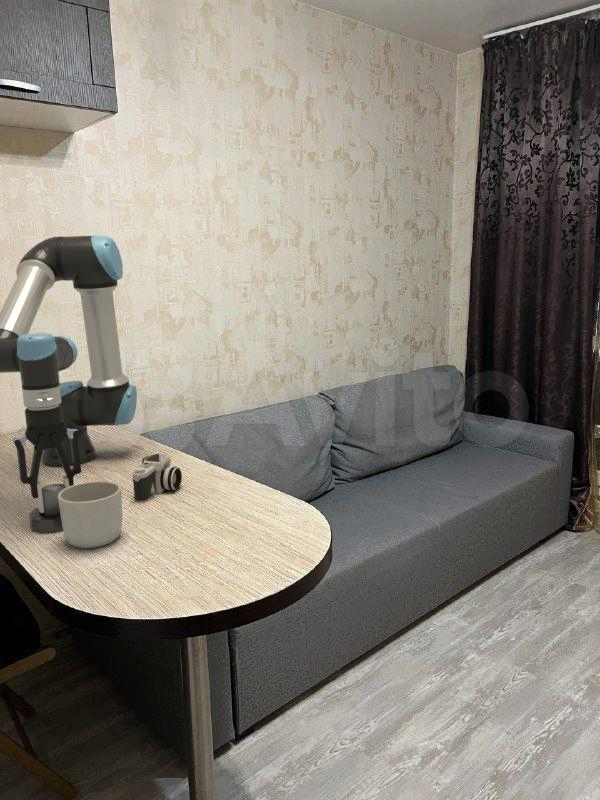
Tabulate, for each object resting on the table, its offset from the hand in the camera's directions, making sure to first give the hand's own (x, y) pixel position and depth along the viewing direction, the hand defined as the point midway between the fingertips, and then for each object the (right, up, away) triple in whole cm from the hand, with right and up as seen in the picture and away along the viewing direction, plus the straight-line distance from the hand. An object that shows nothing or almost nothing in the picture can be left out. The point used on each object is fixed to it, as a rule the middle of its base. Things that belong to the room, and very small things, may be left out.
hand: (54, 507), depth 138 cm
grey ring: (0, -4, +1) cm, 4 cm away
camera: (+19, 0, +19) cm, 27 cm away
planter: (+11, -6, -8) cm, 15 cm away
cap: (0, -1, 0) cm, 1 cm away
